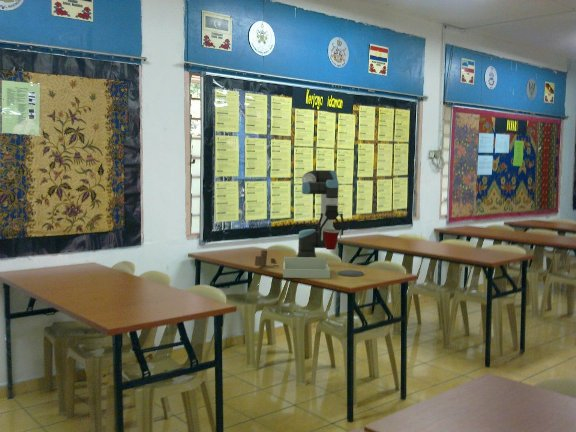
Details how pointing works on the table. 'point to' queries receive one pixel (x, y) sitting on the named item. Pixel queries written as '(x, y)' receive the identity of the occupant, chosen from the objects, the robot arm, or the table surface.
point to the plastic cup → (330, 238)
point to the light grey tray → (305, 267)
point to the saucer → (350, 273)
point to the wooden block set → (263, 259)
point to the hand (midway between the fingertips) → (331, 240)
